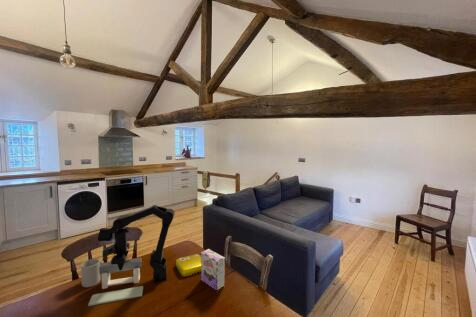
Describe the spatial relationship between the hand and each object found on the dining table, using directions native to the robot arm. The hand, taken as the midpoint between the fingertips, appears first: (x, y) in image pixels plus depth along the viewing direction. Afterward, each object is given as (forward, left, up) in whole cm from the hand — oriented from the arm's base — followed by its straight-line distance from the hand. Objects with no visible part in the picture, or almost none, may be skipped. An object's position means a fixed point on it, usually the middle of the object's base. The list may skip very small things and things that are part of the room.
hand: (121, 267), depth 121 cm
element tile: (-38, -3, -8) cm, 39 cm away
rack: (0, 0, -8) cm, 8 cm away
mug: (+15, -6, -8) cm, 18 cm away
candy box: (-47, +16, -8) cm, 50 cm away
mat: (0, +12, -8) cm, 14 cm away
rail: (0, 0, -1) cm, 1 cm away
